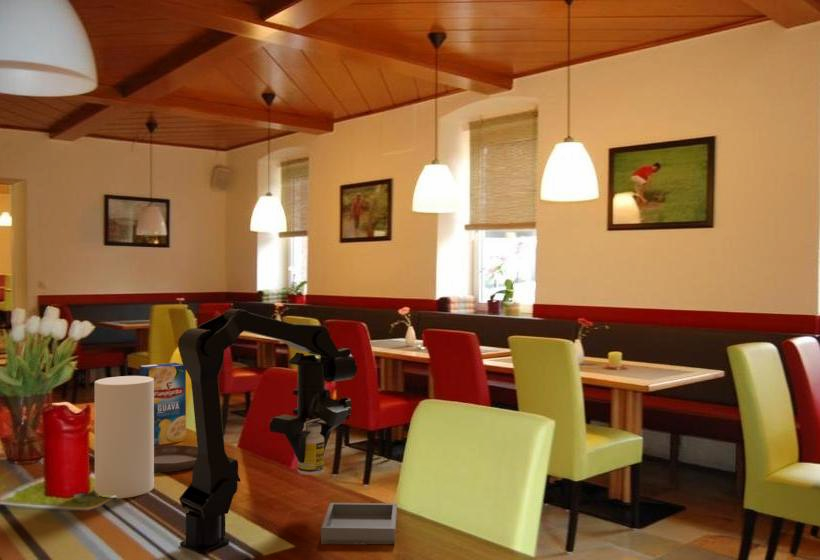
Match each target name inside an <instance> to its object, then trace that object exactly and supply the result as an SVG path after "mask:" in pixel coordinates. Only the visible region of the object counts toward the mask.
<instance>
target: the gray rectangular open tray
mask: <svg viewBox="0 0 820 560" xmlns="http://www.w3.org/2000/svg"><path fill="white" fill-rule="evenodd" d="M397 514H398V504H397V503H388V502H387V503H386V502H385V503H382V502H381V503H378V502H377V503H376V502H373V503H370V502H369V503H368V502H367V503H366V502H365V503H364V502H330V503H329V505H328V507H327V511H326V513H325V516H324V519H323V521H322V525H321V526H320V544H321V545H362V544H361V543H364V544H363V545H367V544H393V543H395V544H396V535H395V534H396V533H397V522H398V520H397V518H398V515H397ZM355 543H357V544H355Z"/></svg>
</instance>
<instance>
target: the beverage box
mask: <svg viewBox="0 0 820 560" xmlns="http://www.w3.org/2000/svg"><path fill="white" fill-rule="evenodd" d="M138 370H139V371H138V372H139V374H138V376H146V377H151V378H153V379H154V447H158V446H164V445H167V444H168V445H169V444H173V443H179V442H185V441H186V440H187V411H186V410H187V403H186V402H187V401H186V400H187V379H186V378H187V371H186V369H185V367H184V365H183V363H179V362H167V363H158V364H157V363H156V364H145V365H139V369H138Z"/></svg>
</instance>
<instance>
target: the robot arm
mask: <svg viewBox="0 0 820 560" xmlns="http://www.w3.org/2000/svg"><path fill="white" fill-rule="evenodd" d="M243 332H245V333H248V334H253V335H258V336H261V337H264V338H268V339H269V338H270V339H273V340H274V339H275V340H279V341H280V342H283V343H284V344H286V345H287V346H289V347H291V348H293V349H295V350H297V351H300V352H296V353H294V355H293V357H291V358H290V359H289V360H288V362H287V363H288V364H289V365H293V366H297V386H296V387H297V388H295V389H292V395H293V396H297V403H296V405H297V406H296V407H297V408H294V409H292V415H290V414H281V415H278V416H273V417H272V418H271V419H270V421H269V432H271V433H272V432H273V433H277V434H282V435H284V436H285V438H286V439H287V441H288V443H289V445H290V446H291V448H292V450H293V452H294V455H295V457H296V459H297V462H298V461H299V462H300V463H304V458H305V443H306V437H307V436H308V435H309V434H310V431H306V424H309V423H318V424H321V432H320V434H321V435H323V437H324V452H325V451H326V448H327V444H328V442H329V438H330V436H331V434H332V431H334V429H335V428H337V427H338V426H340V425H341V424H344V423H345V421H347V420H350V415H352V400H351V398H350V397H347V396H345V397H340V398H339V399H338V398H337V399H333V398H332V397H331V391H330V389H327V388H326V382H327V383H333V382H340V381H346V380H347V381H348V380H352V379H354V377H356V375H357V372H358V364H357V362H356V359H355V357H354V356H353V355H352V354H351V351H352V350H351V348H346V347H345V348H344V347H343V348H339V349H338V347H337V346H336V344H335V343H334V340H333V339H332V338H331V336H330V335H331V334H330V332H329V328H327V327H326V326H324V325H320V324H319V325H318V324H310V323H292V322H291V323H290V322H287V321H282V320H279V319H275V318H272V317H267V316H264V315H260V314H256V313H253V312H249V311H247V309H246V310H245V309H240V308H230V309H227V310H225V311H224V312H222V313H221V314H219V315H218V316H216V317H214V318H211V319H209V320H208V321H205V322H203V323H201V324H200V325H198V326H197V327H195V328H189V329H186V330H185V331H184V332H183V333H182V335H181V336H179V337H178V341H177V343H178V344H177V348H178V349H177V350H178V352H179V356H180V359H181V364H183V365H184V367H185V369H186V374H188V377H189V378H190V382H191V394H192V406H193V413H194V423H195V435H196V444H197V445H196V446H197V447H198V456H197V459H196V462H195V464H194V467H192V475H191V476H192V477H191V479H192V480H191V483H190V484H189V485H188V486H187V488H186V489H185V490H184V492H183V493H182V494H181V496H180V497H179V500H178V501H179V503H180V506H181V508H182V509H183V510H184V509H185V510H187V511H188V512H186V513H185V540H182V541H180V542H179V545H180V546H181V547H184V548H187V549H190V550H192V551H194V552H198V553H201V554H204V553H208V552H210V551H212V550H213V549H217V548H219V547H221V546H224V545H226V544H228V543H230V542H231V541H230V538H228V537H226V515H227V514H229V511H230V509H231V505H232V502H233V497H234V496H235V494H237V491H238V488H239V487H238V485H239V484H238V483H240V482H241V478H240V476H239V462H238V461H239V460H237V459H235V458H232V457H230V456H228V455H227V453H226V449H225V448H226V447H225V438H224V428H223V427H224V425H223V417H222V416H223V415H222V414H223V413H222V406H221V405H222V403H221V396H220V395H221V393H220V385H219V375H220V373H221V369H222V367H223V364H224V362H225V350H226V349H228V348H229V347H231V346H232V345H233V344H234V343H235V342H236V341H237V339H238V338H239V337H240V335H242V333H243ZM302 352H306V353H308V354H307V355H305V354H304V353H302ZM318 356H319V357H318Z"/></svg>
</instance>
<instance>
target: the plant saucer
mask: <svg viewBox="0 0 820 560" xmlns="http://www.w3.org/2000/svg"><path fill="white" fill-rule="evenodd" d="M197 456H198V446H194V445H187V444H186V445H183V444H182V445H181V444H178V445H177V444H172V445H158V446H154V473H155V472H156V473H157V472H158V473H160V472H161V473H162V472H163V473H165V472H168V473H169V472H178V471H184V470H188V469H191V468H193V467H194V464H195V462H196V459H197Z"/></svg>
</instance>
